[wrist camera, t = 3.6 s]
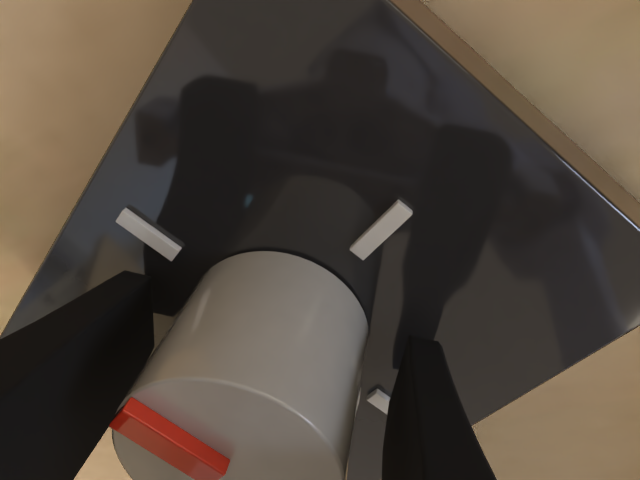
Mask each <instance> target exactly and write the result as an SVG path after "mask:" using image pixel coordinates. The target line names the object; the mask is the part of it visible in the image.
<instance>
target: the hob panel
mask: <svg viewBox="0 0 640 480" xmlns="http://www.w3.org/2000/svg"><path fill="white" fill-rule="evenodd" d="M252 251H276V252H282V253H288V254H292V255H295V256H299V257H302V258H304V259H307V260H309V261H312V262H314V263H316V264H318V265H320V266H322V267H323V268H325V269H326V270H328V271H329V272H331V273H332V274H334V275H335V276H336V277H337V278H339V279H340V280H341V281H342V282H343V283H344V284H345V285H346V286H347V287H348V288H349V289H350V290H351V291H352V293H353V294H354V296H355V297H356V298H357V300H358V301H359V303H360V305H361V307H362V309H363V311H364V314H365V316H366V319H367V323H368V329H369V344H368V350H367V356H366V363H365V369H364V375H363V381H362V387H361V394H360V400H359V406H358V412H357V419H356V425H355V431H354V437H353V443H352V450H351V456H350V462H349V468H348V475H347V480H382V453H383V442H384V435H385V427H386V420H387V413H388V406H389V401H390V398H391V394H392V391H393V387H394V384H395V381H396V377H397V374H398V371H399V367H400V364H401V361H402V357H403V354H404V351H405V347H406V344H407V341H408V337H409V335H412V336H416V337H421V338H425V339H430V340H434V341H438V342H439V343H440V344H441V345H442V347H443V350H444V354H445V357H446V361H447V364H448V367H449V370H450V373H451V376H452V379H453V382H454V384H455V387H456V390H457V392H458V395H459V398H460V400H461V403H462V405H463V408H464V410H465V413H466V415H467V417H468V420H469V422H470V424H471V426H472V425H474V424H476V423H477V422H479V421H481V420H482V419H484V418H486V417H487V416H489V415H491V414H492V413H494V412H496V411H497V410H499V409H501V408H503V407H504V406H506V405H508V404H509V403H511V402H513V401H514V400H516V399H518V398H519V397H521V396H523V395H524V394H526V393H528V392H529V391H531V390H533V389H534V388H536V387H538V386H539V385H541V384H543V383H544V382H546V381H548V380H549V379H551V378H553V377H555V376H556V375H558V374H560V373H561V372H563V371H565V370H566V369H568V368H570V367H571V366H573V365H575V364H576V363H578V362H580V361H581V360H583V359H585V358H586V357H588V356H590V355H591V354H593V353H595V352H596V351H598V350H600V349H601V348H603V347H605V346H607V345H608V344H610V343H612V342H613V341H615V340H617V339H618V338H620V337H622V336H623V335H625V334H627V333H628V332H630V331H632V330H633V329H635V328H637V327H638V326H640V203H639V202H638V201H637V200H636V199H635V198H634V197H633V196H631V195H630V194H629V193H628V192H627V191H626V190H625V189H624V188H623V187H622V186H621V185H620V184H618V183H617V182H616V181H615V180H614V179H613V178H612V177H611V176H610V175H609V174H608V173H607V172H605V171H604V170H603V169H602V168H601V167H600V166H599V165H598V164H597V163H596V162H595V161H594V160H592V159H591V158H590V157H589V156H588V155H587V154H586V153H585V152H584V151H583V150H582V149H581V148H579V147H578V146H577V145H576V144H575V143H574V142H573V141H572V140H571V139H570V138H569V137H568V136H566V135H565V134H564V133H563V132H562V131H561V130H560V129H559V128H558V127H557V126H556V125H554V124H553V123H552V122H551V121H550V120H549V119H548V118H547V117H546V116H545V115H544V114H543V113H541V112H540V111H539V110H538V109H537V108H536V107H535V106H534V105H533V104H532V103H531V102H530V101H528V100H527V99H526V98H525V97H524V96H523V95H522V94H521V93H520V92H519V91H518V90H517V89H515V88H514V87H513V86H512V85H511V84H510V83H509V82H508V81H507V80H506V79H505V78H504V77H502V76H501V75H500V74H499V73H498V72H497V71H496V70H495V69H494V68H493V67H492V66H491V65H489V64H488V63H487V62H486V61H485V60H484V59H483V58H482V57H481V56H480V55H479V54H478V53H476V52H475V51H474V50H473V49H472V48H471V47H470V46H469V45H468V44H467V43H466V42H464V41H463V40H462V39H461V38H460V37H459V36H458V35H457V34H456V33H455V32H454V31H453V30H451V29H450V28H449V27H448V26H447V25H446V24H445V23H444V22H443V21H442V20H441V19H440V18H438V17H437V16H436V15H435V14H434V13H433V12H432V11H431V10H430V9H429V8H428V7H427V6H425V5H424V4H423V3H422V2H421V1H420V0H192V2H191V3H190V5H189V7H188V9H187V10H186V12H185V14H184V16H183V17H182V19H181V21H180V23H179V24H178V26H177V28H176V30H175V31H174V33H173V35H172V37H171V38H170V40H169V42H168V44H167V45H166V47H165V49H164V51H163V52H162V54H161V56H160V58H159V59H158V61H157V63H156V65H155V66H154V68H153V70H152V71H151V73H150V75H149V77H148V78H147V80H146V82H145V84H144V85H143V87H142V89H141V91H140V92H139V94H138V96H137V98H136V99H135V101H134V103H133V105H132V106H131V108H130V110H129V112H128V113H127V115H126V117H125V119H124V120H123V122H122V124H121V126H120V127H119V129H118V131H117V133H116V134H115V136H114V138H113V140H112V141H111V143H110V145H109V147H108V148H107V150H106V152H105V154H104V155H103V157H102V159H101V161H100V162H99V164H98V166H97V168H96V169H95V171H94V173H93V175H92V176H91V178H90V180H89V182H88V183H87V185H86V187H85V188H84V190H83V192H82V194H81V195H80V197H79V199H78V201H77V202H76V204H75V206H74V208H73V209H72V211H71V213H70V215H69V216H68V218H67V220H66V222H65V223H64V225H63V227H62V229H61V230H60V232H59V234H58V236H57V237H56V239H55V241H54V243H53V244H52V246H51V248H50V250H49V251H48V253H47V255H46V257H45V258H44V260H43V262H42V264H41V265H40V267H39V269H38V271H37V272H36V274H35V276H34V278H33V279H32V281H31V283H30V285H29V286H28V288H27V290H26V292H25V293H24V295H23V297H22V299H21V300H20V302H19V304H18V305H17V307H16V309H15V311H14V312H13V314H12V316H11V318H10V319H9V321H8V323H7V325H6V326H5V328H4V330H3V332H2V333H1V335H0V339H2V338H4V337H6V336H8V335H10V334H12V333H14V332H15V331H17V330H19V329H21V328H23V327H25V326H27V325H29V324H31V323H33V322H35V321H37V320H39V319H40V318H42V317H44V316H46V315H47V314H49V313H51V312H53V311H54V310H56V309H58V308H60V307H62V306H63V305H65V304H67V303H69V302H70V301H72V300H74V299H76V298H77V297H79V296H81V295H82V294H84V293H86V292H88V291H89V290H91V289H93V288H94V287H96V286H98V285H100V284H101V283H103V282H105V281H106V280H108V279H110V278H112V277H113V276H115V275H117V274H119V273H121V272H123V271H124V270H126V271H130V272H134V273H139V274H143V275H148V276H152V298H153V321H154V344H155V347H154V349H153V351H152V353H151V355H152V354H153V352H154V351H155V349H156V348H157V346H158V344H159V343H160V341H161V340H162V338H163V337H164V335H165V334H166V332H167V330H168V329H169V327H170V326H171V324H172V323H173V321H174V320H175V318H176V317H177V315H178V313H179V312H180V310H181V309H182V307H183V306H184V304H185V303H186V301H187V299H188V298H189V296H190V295H191V293H192V292H193V290H194V289H195V287H196V285H197V284H198V282H199V281H200V280H201V278H202V277H203V275H204V274H205V273H206V272H207V271H208V270H209V269H210V268H212V267H213V266H214V265H216V264H217V263H219V262H221V261H223V260H225V259H227V258H229V257H232V256H235V255H238V254H241V253H246V252H252ZM151 355H150V357H151ZM150 357H149V358H150ZM148 360H149V359H148ZM147 362H148V361H147Z"/></svg>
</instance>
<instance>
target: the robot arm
mask: <svg viewBox="0 0 640 480" xmlns="http://www.w3.org/2000/svg"><path fill="white" fill-rule="evenodd" d="M154 347H155V344H154V321H153V298H152V276H148V275H143V274H139V273H134V272H130V271H126V270H124V271H123V272H121V273H119V274H117V275H115V276H113V277H112V278H110V279H108V280H106V281H105V282H103V283H101V284H100V285H98V286H96V287H94V288H93V289H91V290H89V291H88V292H86V293H84V294H82V295H81V296H79V297H77V298H76V299H74V300H72V301H70V302H69V303H67V304H65V305H63V306H62V307H60V308H58V309H56V310H54V311H53V312H51V313H49V314H47V315H46V316H44V317H42V318H40V319H39V320H37V321H35V322H33V323H31V324H29V325H27V326H25V327H23V328H21V329H19V330H17V331H15V332H14V333H12V334H10V335H8V336H6V337H4V338H2V339H0V480H73V479H74V478H75V476H76V475H77V473H78V472H79V470H80V469H81V467H82V466H83V464H84V463H85V461H86V460H87V458H88V457H89V455H90V454H91V452H92V451H93V449H94V448H95V446H96V445H97V443H98V442H99V440H100V439H101V437H102V436H103V434H104V433H105V431H106V430H107V428H108V427H109V423H110V422H111V420H112V419H113V417H114V415H115V413H116V411H117V408H118V407H119V405H120V403H121V402H122V400H123V399H124V397H125V396H126V394H127V393H128V391H129V389H130V388H131V386H132V385H133V383H134V382H135V380H136V379H137V377H138V376H139V374H140V372H141V371H142V369H143V368H144V366H145V365H146V363H147V361H148V359H149V357H150V355H151V353H152V351H153V349H154ZM382 480H497V479H496V477H495V475H494V473H493V471H492V469H491V467H490V465H489V463H488V461H487V459H486V457H485V455H484V453H483V451H482V449H481V447H480V445H479V442H478V440H477V438H476V436H475V433H474V431H473V429H472V427H471V424H470V422H469V420H468V417H467V415H466V413H465V410H464V408H463V405H462V403H461V400H460V398H459V395H458V392H457V390H456V387H455V384H454V382H453V379H452V376H451V373H450V370H449V367H448V364H447V361H446V357H445V354H444V350H443V347H442V345H441V344H440V343H439V342H438V341H434V340H430V339H425V338H421V337H416V336H412V335H409V337H408V341H407V344H406V347H405V351H404V354H403V357H402V361H401V364H400V367H399V371H398V374H397V377H396V381H395V384H394V387H393V391H392V394H391V398H390V401H389V406H388V413H387V420H386V427H385V435H384V442H383V453H382Z"/></svg>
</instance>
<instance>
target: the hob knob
mask: <svg viewBox="0 0 640 480" xmlns="http://www.w3.org/2000/svg"><path fill="white" fill-rule="evenodd" d="M368 344H369V329H368V323H367V319H366V316H365V314H364V311H363V309H362V307H361V305H360V303H359V301H358V300H357V298H356V297H355V296H354V294H353V293H352V291H351V290H350V289H349V288H348V287H347V286H346V285H345V284H344V283H343V282H342V281H341V280H340V279H339V278H337V277H336V276H335V275H334V274H332V273H331V272H329V271H328V270H326V269H325V268H323V267H322V266H320V265H318V264H316V263H314V262H312V261H309V260H307V259H304V258H302V257H299V256H295V255H292V254H288V253H282V252H276V251H252V252H246V253H241V254H238V255H235V256H232V257H229V258H227V259H225V260H223V261H221V262H219V263H217V264H216V265H214V266H213V267H212V268H210V269H209V270H208V271H207V272H206V273H205V274H204V275H203V277H202V278H201V280H200V281H199V282H198V284H197V285H196V287H195V289H194V290H193V292H192V293H191V295H190V296H189V298H188V299H187V301H186V303H185V304H184V306H183V307H182V309H181V310H180V312H179V313H178V315H177V317H176V318H175V320H174V321H173V323H172V324H171V326H170V327H169V329H168V330H167V332H166V334H165V335H164V337H163V338H162V340H161V341H160V343H159V344H158V346H157V348H156V349H155V351H154V352H153V354H152V355H151V357H150V358H149V360H148V362H147V363H146V365H145V366H144V368H143V369H142V371H141V372H140V374H139V376H138V377H137V379H136V380H135V382H134V383H133V385H132V386H131V388H130V389H129V391H128V393H127V394H126V396H125V397H124V399H123V400H122V402H121V403H120V405H119V407H118V408H117V411H116V413H115V415H114V417H113V419H112V420H111V422H110V423H109V427H110V428H112V439H113V444H114V448H115V451H116V454H117V456H118V459H119V460H120V462H121V464H122V466H123V468H124V469H125V470H126V472H127V473H128V474H129V476H130V477H131V478H132V479H133V480H347V475H348V468H349V462H350V456H351V450H352V443H353V437H354V431H355V425H356V419H357V412H358V406H359V400H360V394H361V387H362V381H363V375H364V369H365V363H366V356H367V350H368Z"/></svg>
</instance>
